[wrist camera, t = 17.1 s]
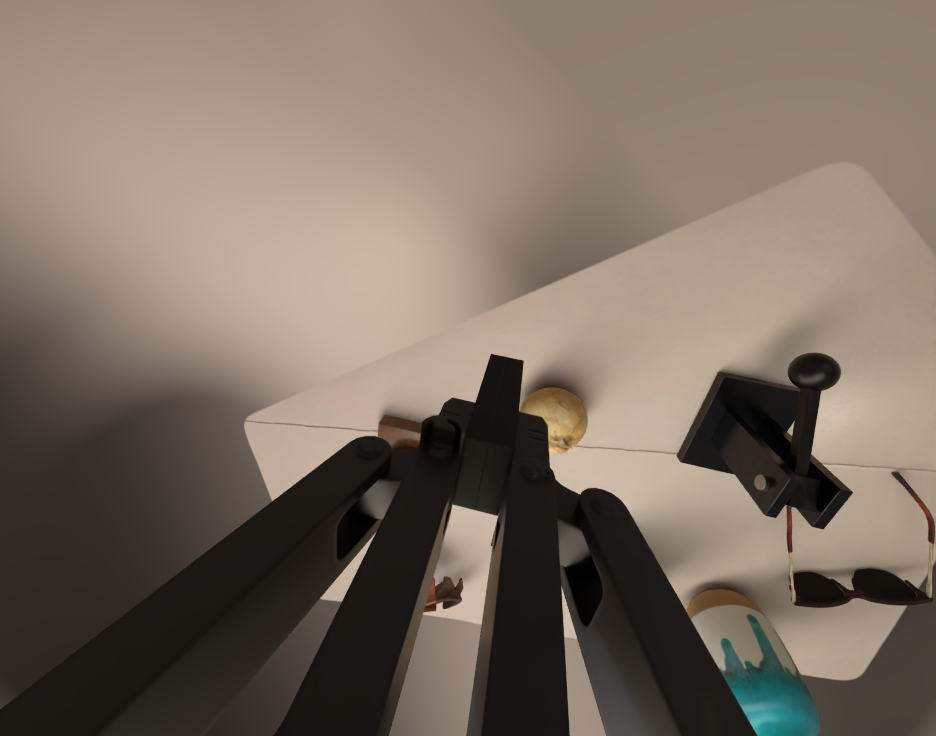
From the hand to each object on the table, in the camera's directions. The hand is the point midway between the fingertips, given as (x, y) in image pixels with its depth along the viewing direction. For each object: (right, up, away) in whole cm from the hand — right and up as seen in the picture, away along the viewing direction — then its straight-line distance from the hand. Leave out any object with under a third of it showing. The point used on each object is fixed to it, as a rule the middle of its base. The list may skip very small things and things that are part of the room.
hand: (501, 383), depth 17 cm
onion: (+9, -4, +30) cm, 31 cm away
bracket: (+30, -6, +26) cm, 40 cm away
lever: (+30, -5, +18) cm, 35 cm away
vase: (+35, -34, +38) cm, 62 cm away
